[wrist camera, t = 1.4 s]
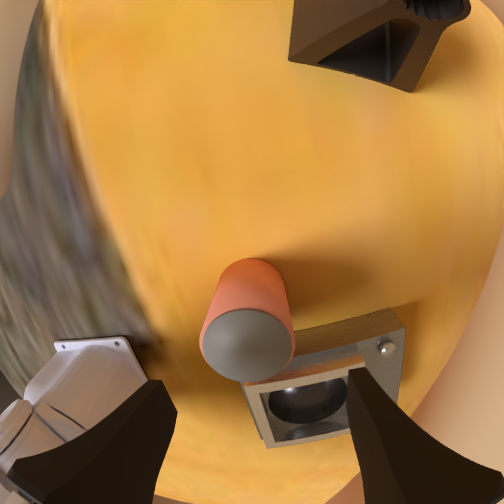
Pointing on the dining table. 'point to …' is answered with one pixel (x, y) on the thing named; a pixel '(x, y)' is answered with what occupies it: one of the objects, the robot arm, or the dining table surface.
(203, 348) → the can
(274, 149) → the dining table surface
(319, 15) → the phone stand
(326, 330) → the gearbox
